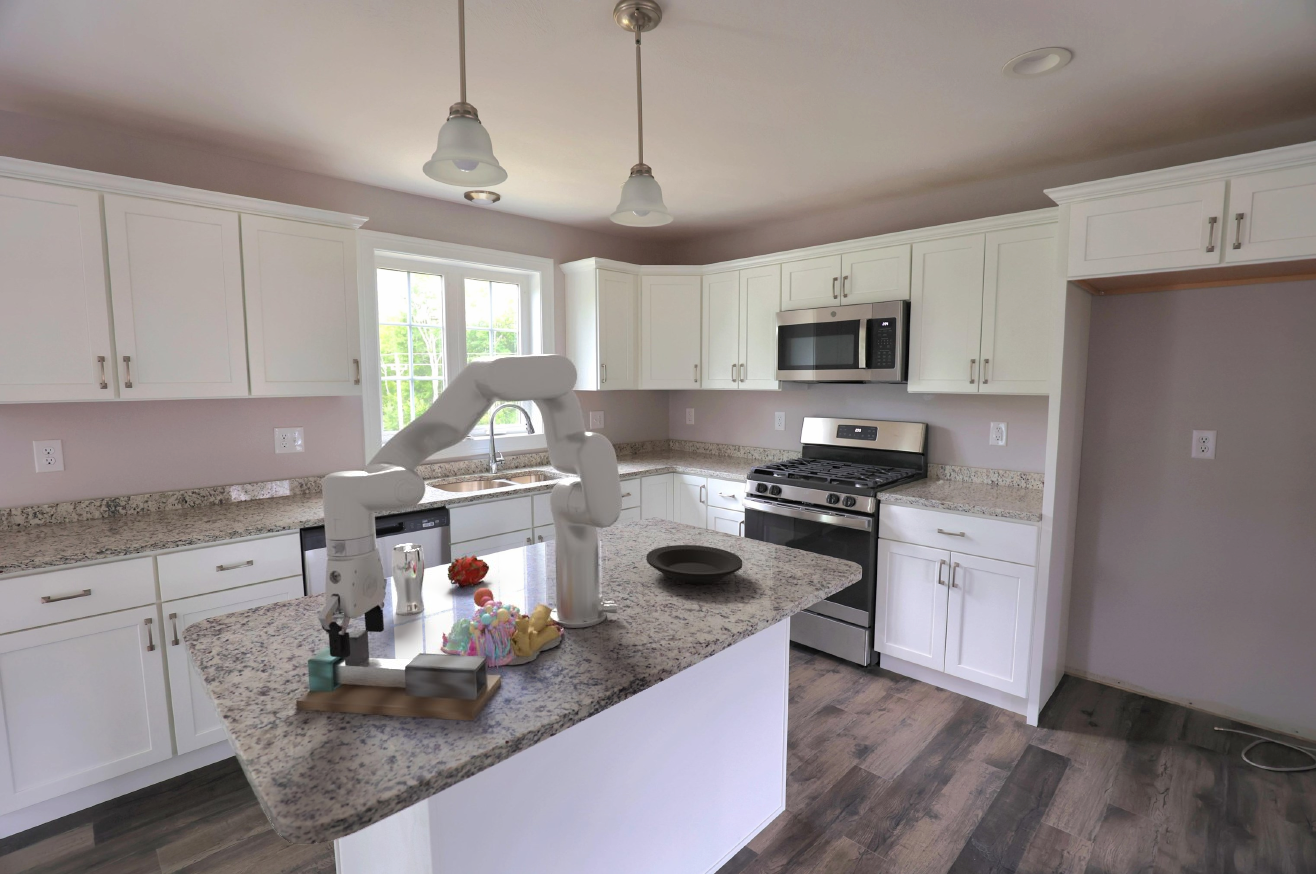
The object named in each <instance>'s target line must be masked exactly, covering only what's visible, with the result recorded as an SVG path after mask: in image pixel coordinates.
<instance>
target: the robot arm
mask: <svg viewBox="0 0 1316 874" xmlns="http://www.w3.org/2000/svg"><path fill="white" fill-rule="evenodd" d="M577 379H578V372H577V369H576V366H575V364H574V362H572V360H571V359H570V358H569V357H567V356H565V355H562V354H558V353H553V354H549V353H548V354H528V355H527V354H526V355H495V356H494V355H493V356H480V357H477V358H474V359H472V360H471V361H469V362H468V363H467V364H466V365H465V366H464V367H463V368H462V369H461V370H460V371H459V373H457V375H456V376H455V378H453V380H452V381H451V382H450V383H449V384H448V385H447V386H446V388H445V389H444V390H443V391H442V392H441V393H440V394H439V396H438V397H437V398H436V399H435V400H434V401H433V403H432V404H431V405H430V406H429V407H428V408H427V409H426V410H425V411H424V412H423V413H421V414H420V415H418V416H417V417H416V418H414V419H413V420H412V421H411V422H410V423H408V424H407V425H406V426H405V427H403V428H402V429H400V430H399V431H398V432H396V433H395V434H394V435H393V436H391V438H390V439H389V440H388V441H387V442H386V443H385V444H384V445H383V446H382V447H381V448H380V449H379V450H378V451H377V453H376V454H375V455H374V456H373V457H372V459H371V460H370V461H369V462H368V463H367V465H365V467H364V468H363V470H345V471H344V470H343V471H335V472H331V473H329V474H327V475H325V476H324V478H322V481H321V482H322V483H321V490H322V491H321V493H322V507H323V518H324V519H323V520H324V532H325V533H324V534H325V545H326V547H325V548H326V558H327V560H326V567H325V568H326V571H325V605H324V607H323V608H322V609H321V611H320V612H319V613H318V617H317V618H318V620H319V623H320V625H321V628H322V630H324V631H325V634H326V635H328V642H329V643H328V644H329V646H330V655H331V656H332V657H348V656H350V640H349V633H350V632H348V631H347V629H348V626H349V623H350V621H351V620H352V619H354V620H355V619H358V618H360V617H362V616H363V615H364V626H365V629H364V630H368V633H382V632H384V630H385V623H384V607H385V602H384V600H385V598H386V594H387V592H386V588H387V583H388V579H387V578H385V576H384V575H385V574H384V569H383V563H382V558H381V554H380V551H379V548H378V546H377V535H376V534H377V533H376V517H375V513H377V512H378V513H379V512H401V511H406V510H410V509H412V508H414V507H415V506H417V505H418V504H419V503H421V502H422V500H423V498H424V497H425V493H426V484H425V481H424V478H423V477H422V476H421V475H420V474H419V473H418V472H417V471H415V470H416V469H417V468H418V467H419V466H420V465H421V464H422V463H424V461H426V460H427V459H428V458H430V457H431V456H433V455H435V454H437V453H439V452H440V451H443V450H446V449H449V448H452V447H453V446H456V445H457V444H459V443H462V441H464V440H465V439H467V438H468V436H469V435H470V434H471V432H472V431H473V430H474V428H476V426H477V424H478V423H479V422H480V421H481V420H482V418H483V417H484V416H485V415H486V414H487V412H488V411H489V410H490V409H491V408H492V407H493V405H494V404H495V403H496V402H506V403H507V402H510V403H511V402H526V401H528V402H529V401H532V402H533V403H534V404H535V406H537V408H538V409H539V412H540V414H541V419H542V423H543V428H544V434H545V440H546V446H547V448H546V449H547V453H548V459H549V462H550V465H551V466H552V468H553V469H554V470H555V471H557V472H559V473H561V474H566V475H570V476H576V477H566V478H563V479H561V480H560V481H558V482H557V483H556V484H555V485H554V486H553V488H552V490H551V493H550V495H549V496H550V497H549V506H550V513H551V517H552V518H551V519H552V522H553V529H554V542H555V543H554V544H555V550H554V552H555V592H556V594H555V598H556V603H555V604H556V607H554V608H553V609H551V610H552V612H551V614H550V616H549V618H552V620H553V621H556V622H557V623H558V624H559V625H560V626H561V627H562V628H567V629H570V628H571V629H581V628H588V627H592V626H595V625H598V624H600V623H601V622H603V621H604V620H605V619H606V617H607V614H608V613H609V614H618V613H619V604H616V601H610V600H609V601H605V599H603V597H604V596H603V593H601V594H600V575H599V574H600V572H599V571H600V569H599V568H600V566H599V565H600V564H599V555H600V554H599V553H600V552H599V549H600V548H599V536H598V530H597V528H600V529H603V528H604V529H605V528H608V527H611V526H613V525H614V524H615V523H616V522H617V521H618V519H619V518H620V515H621V512H622V506H623V497H622V489H621V488H622V487H621V482H620V481H621V480H620V472H619V465H618V460H617V459H618V458H617V454H616V451H615V448H614V446H613V444H612V442H611V441H610V440H609V439H608V438H607V437H606V436H605V435H603V434H601V433H598V432H593V431H587V429H586V426H585V421H584V416H583V411H582V408H581V403H580V400H579V398H578V396H577V393H576V392H575V391H574V390H573V389H574V388H575V387H576V384H577V381H578V380H577ZM338 620H341V623H340V624H338V623H337V622H338ZM329 646H328V647H329Z"/></svg>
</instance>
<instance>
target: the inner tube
mask: <svg viewBox="0 0 1316 874" xmlns="http://www.w3.org/2000/svg"><path fill="white" fill-rule="evenodd" d="M349 640H350V656H348V657H341V658H339V659H338V660H337V661H335V662H334V663H332V664H333V681H334V683H338V684H354V685H371V686H388V687H405V688H406V686H405V666H406V665H407V664H408V663H409V662H410V661H412V660H413V659H410V660H409V659H397V658H396V659H394V658H379V657H378V658H376V657H370V652H369V651H370V649H369V648H370V647H369V632H368V630H366V629H353V630H352V631H350V632H349Z"/></svg>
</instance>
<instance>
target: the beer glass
mask: <svg viewBox="0 0 1316 874" xmlns="http://www.w3.org/2000/svg"><path fill="white" fill-rule="evenodd" d="M391 572H392V573H391V574H392V578H393V582H394V586H395V587H394V588H395V591H396V597H397V598H396V600H397V601H396V607H395V608H396V609H395V612H396V614H397V615H400V616H411V615H412V616H413V615H417V614H419V613H421V612H423V611H424V610H425V605H424V602H423V600H424V599H423V595H422V593H423V592H422V591H423V584H424V575H425V574H424V573H425V555H424V548H423V545H422V544H420V543H405V544H399V545H396V546H394V547H392V548H391Z"/></svg>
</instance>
